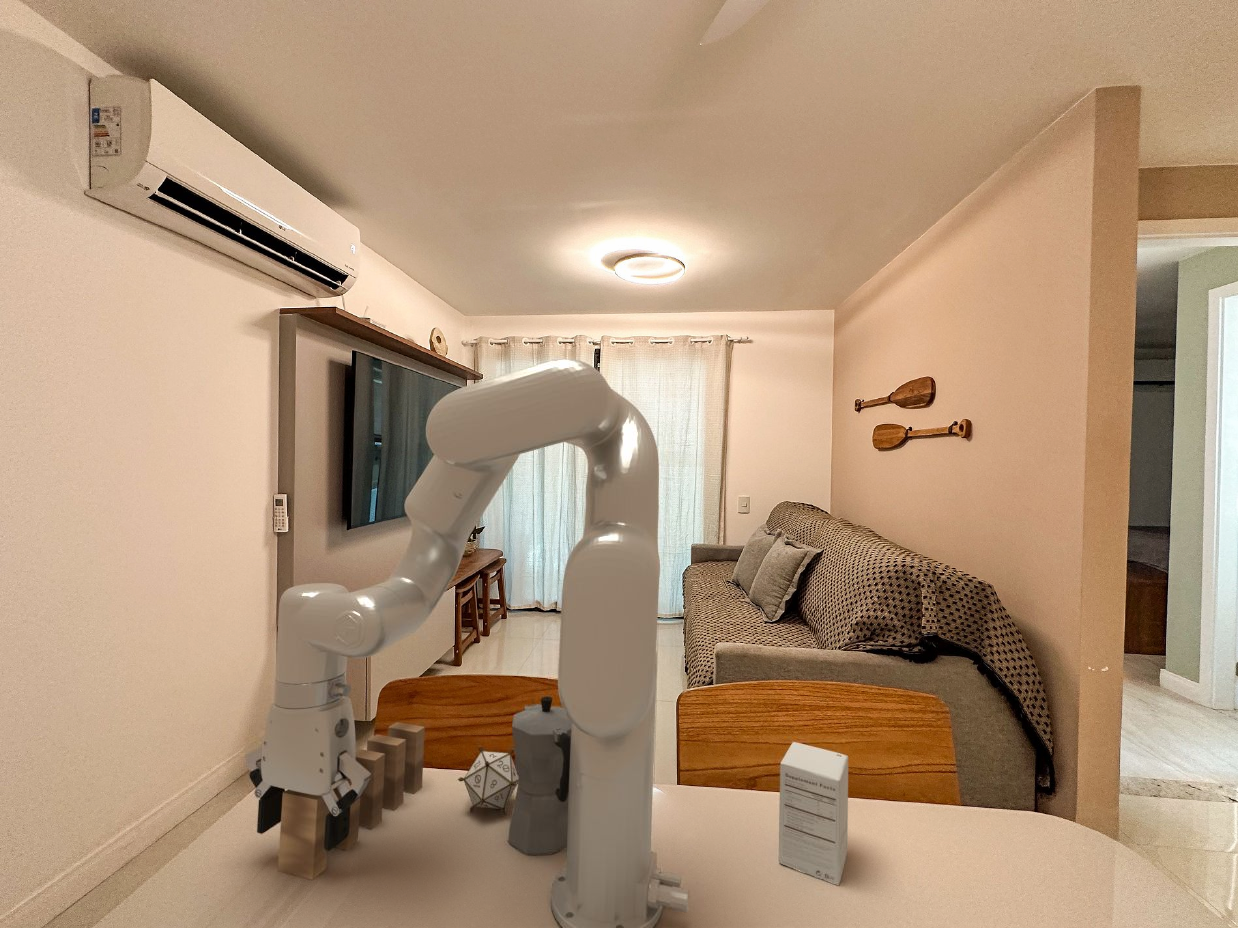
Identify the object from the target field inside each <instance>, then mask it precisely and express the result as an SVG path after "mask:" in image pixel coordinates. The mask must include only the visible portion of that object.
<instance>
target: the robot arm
mask: <svg viewBox="0 0 1238 928" xmlns="http://www.w3.org/2000/svg"><path fill="white" fill-rule="evenodd" d="M425 438H426V441H427V445H428V446H429V448H430V450H431V452H432V453H433V454H434V455H433V456H432V458H431V459H430V461H429V463H428V464H427V466H426V467H425V468H424V470H423V471H422V474H421V475H420V477H419V478H418V479H417V481H416V483H415V484H414V486H413V488H412V489H411V491H410V492H409V494H408V495H407V497H406V499H405V500H404V511H405V514H406V515H407V517H408V518H409V520H410V522H411V529H412V531H411V537H410V539H409V543H408V544H407V547H406V550H405V551H404V553H403V555H402V557H401V558H400V560H399V562H398V563H397V565H396V567H394V570H393V571H392V572H391V574H390V576H389V577H388V578H387V580H386V581H384V582H380V583H378V584H375V585H371V586H369V587H365V588H362V589H359V590H355V591H352V592H349V590H348V588H346V587H345V586H344V585H341V584H337V583H330V582H320V583H319V582H317V583H316V582H314V583H306V584H299V585H295V586H292V587H289V588H287V589H286V590H285V591H283V593H282V594H281V597H280V599H279V604H278V605H279V607H278V619H277V620H278V621H277V623H278V624H277V637H276V638H277V640H276V656H275V657H276V659H275V675H274V689H273V690H274V693H273V700H272V701H271V703H270V706H269V710H268V713H267V714H268V715H267V719H266V723H265V728H264V735H263V741H262V746H261V747H258V748H256V749H254V750H252V751H250V752H247V754H246V755H245V762H246V764H247V767H248V770H249V771H250V772H249V775H248V776H249V778H250V781H251V782H252V784H253V786H254V787H255V789H254V791H253V793H254V796H255V797H256V799H258V805H257V806H258V807H257V808H258V809H257V822H256V823H257V825H256V826H257V827H256V833H257V834H260V835H263V834H264V833H266V832H268V831H269V830H270V829H272V828H273V827H275V826H276V825H278V824H279V823H280V824H281V813H282V797H283V792H285V791H286V790H292V791H297V792H301V793H306V794H311V795H316V796H322V797H323V799H324V801H325V803H326V804H327V806H328V808H329V810H330V813H329V814H328V815H327V816H326V819H325V838H324V848H325V850H327V852H330V851H332V850H333V849H334V847H336V846H337V845H338V844H339V843H340V842H342V841H343V840H344V839H345V838H347V836H348V834H349V826H350V806H351V805H352V804H353V803H355V801H356V800H357V799H358V798H359V797H360V796H361V795H362V794H363V793H364V789H365V788H366V786H367V784H368V782H369V780H370V778H371V774H370V772H369V771H367V770H366V769H365V768H364V767H363V766H362V765H360V764H359V763H358V762H357V761H356V748H357V747H356V726H355V717H354V711H353V705H352V700H351V698H350V697H347V696H348V695H349V694H350V693H351V690H352V689H351V685H350V684H349V683H347V665H348V658H351V659H365V658H368V657H372V656H374V655H377V654H379V653H380V652H382V651H384V650H386V649H388V648H390V647H391V646H393V645H395V643H398V642H400V641H401V640H403V639H404V638H406V637H408V636H411V634H414V633H415V632H416V631H417V630H418V629H419V628H421V626H423V624H425V622H426V621H427V620H428V618H429V617H430V616H431V614H432V613H433V611H434V609H435V608H436V606H437V605H438V603H439V602H440V600H441V599H442V598H443V595H444V594H445V592H446V591H447V589H448V588H449V586H450V584H451V583H452V580H453V579H454V577H455V576H456V573H457V571H458V569H459V567H460V566H459V565H460V564H461V561H462V559H463V555H464V553H465V551H466V549H467V544H468V540H469V537H470V536H471V534H472V532H473V531H474V529H475V527H476V526H477V524H478V523H479V521H480V519H481V518H482V516H483V514H484V512H485V511H486V509H487V508H488V506H489V505H490V503H491V502H492V500H493V498H494V497H495V496H496V493H497V492H498V491H499V489H500V487H501V486H502V484H503V482H504V481H505V480H506V478H507V477H508V475H509V473H510V472H511V470H512V468H513V467H514V465H515V464H516V463H517V460H518V459H519V456H520V455H522V454H526V453H529V452H534V451H536V450H539V449H543V448H547V447H550V446H551V447H552V446H554V445H559V444H561V443H566V444H570V445H573V446H574V447H578V448H580V449H581V450H583V452H584V454H585V457H586V460H587V474H586V481H585V482H586V483H585V512H584V513H585V514H584V525H583V526H584V527H583V535H582V538H581V539H580V540H579V541H578V542H577V544H576V545H575V546H574V548H573V549H572V550H571V552H570V554H569V556H568V558H567V561H566V564H565V568H564V575H563V579H562V588H561V605H560V606H561V607H560V608H561V609H560V628H559V631H560V632H559V645H558V646H559V648H558V664H557V666H558V667H557V688H558V696H559V700H560V704H561V706H562V707H561V708H563V709H564V711H565V713H566V715H567V716H568V718H569V719H570V721H571V722H572V727H571V748H570V774H569V802H568V830H567V846H566V860H565V861H566V865H565V867H564V868H563V869H561V870H560V871H559V873H558V874H557V875H556V877H555V879H554V881H553V883H552V885H551V891H550V905H551V911H552V914H553V916H554V918H555V920H556V921H557V922H558V924H559V925H560V927H562V928H654V927H655V925H656V924H657V923H658V921H659V919H660V918H661V916H662V912H663V907H668V908H670V909H671V910H676V911H680V912H684V913H687V912H688V910H689V901H690V889H687V888H686V889H685V888H682V874H677V873H672V872H665V871H662V868H660V867H657V865H658V863H657V862H658V852H655V851H651V850H652V822H653V821H652V820H653V818H652V817H653V790H654V789H653V787H654V785H653V784H654V783H653V782H654V763H655V762H654V760H655V736H656V735H655V733H656V732H655V731H656V730H655V729H656V726H655V725H656V706H657V705H656V701H657V681H658V680H657V678H658V652H657V640H658V639H657V638H658V637H657V633H658V616H659V615H658V613H659V596H660V595H659V593H660V591H659V590H660V577H661V576H660V575H661V560H660V554H659V514H660V513H659V510H660V505H659V503H660V502H659V501H660V499H659V497H660V496H659V495H660V491H659V490H660V463H659V453H658V447H657V442H656V439H655V436H654V434H653V430H652V428H651V427H650V424H649V423H648V421H647V419H646V418H645V417H644V415H643V414H642V412H641V411H640V410H639V409H638V408H637V407H636V406H635V405H634V404H633V403H631V402H630V401H629V400H628V399H626V398H625V397H623V395H621V394H620V393H618V392H617V391H615V390H614V389H612V387H611V386H610V385H609V383H608V381H607V380H606V378H605V377H604V376H603V374H602V373H600V371H598V369H597V368H595V367H593V366H592V365H591V364H589V363H586V362H585V361H582V360H578V359H573V358H566V359H564V358H563V359H562V358H561V359H553V360H551V361H546V362H542V363H539V364H535V365H532V366H528V367H525V368H522V369H518V370H516V371H513V372H510V373H505V374H501V375H499V376H495V377H492V378H488V379H485V380H482V381H479V382H475V383H472V384H469V385H466V386H463V387H460V388H458V389H456V390H453V391H452V392H450V393H447V394H446V395H445V396H444V397H442V398H441V399H440V400H439V401H437V403H436V404H435V405H433V408H432V409H431V411H430V413H429V415H428V418H427V420H426V425H425ZM346 683H347V684H346ZM348 779H350V780H351V782H352V785H351V786H350V785H349V783H348V781H347V780H348ZM334 780H335V783H333V782H334ZM332 783H333V784H332ZM331 784H332V785H331ZM336 788H338V790H339V792H340V794H341V796H342V798H341V799H340V800H338V798H337V796H336V794H335V793H334V791H333V790H335V789H336Z"/></svg>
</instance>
